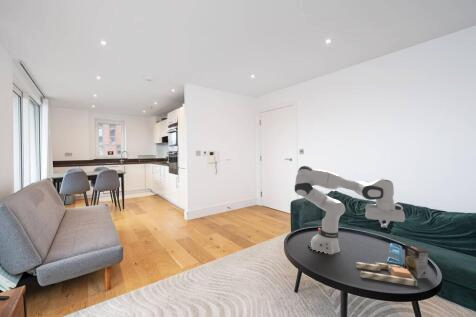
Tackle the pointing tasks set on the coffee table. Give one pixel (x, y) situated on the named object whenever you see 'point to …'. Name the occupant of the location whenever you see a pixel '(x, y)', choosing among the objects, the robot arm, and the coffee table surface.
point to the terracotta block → (400, 272)
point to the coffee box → (416, 261)
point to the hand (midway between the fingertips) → (384, 227)
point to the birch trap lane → (381, 276)
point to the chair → (396, 253)
